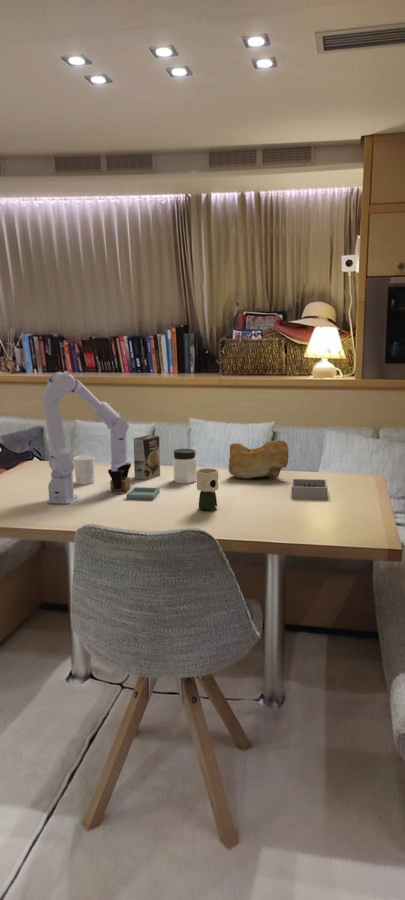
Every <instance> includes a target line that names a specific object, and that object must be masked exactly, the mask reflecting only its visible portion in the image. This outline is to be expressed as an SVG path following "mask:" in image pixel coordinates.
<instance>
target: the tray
mask: <svg viewBox="0 0 405 900" xmlns="http://www.w3.org/2000/svg"><path fill="white" fill-rule="evenodd" d="M160 493H161V491H160V487H147V486H146V487H143V486H142V487H138V486H136V487H135V486H133V487H131V489H130V490H129V491H128V492H127V493H125V494H126V500H133V501H136V500H137V501H139V500H140V501H154V500H155V499H156V498H157V497H158V496H159V494H160Z"/></svg>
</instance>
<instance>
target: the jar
mask: <svg viewBox="0 0 405 900" xmlns="http://www.w3.org/2000/svg"><path fill="white" fill-rule="evenodd" d="M196 459H197V457H196V450H195V449H192V448H178V449H175V450H174V451H173V480H174V482H175V483H176V484H183V483H189V484H192V483H196V482H197V477H196V471H197V460H196ZM195 481H196V482H195ZM191 482H192V483H191Z"/></svg>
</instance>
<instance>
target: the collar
mask: <svg viewBox="0 0 405 900" xmlns="http://www.w3.org/2000/svg"><path fill="white" fill-rule="evenodd" d="M122 478H124V480H122V483H121V489H115V488H114V485H113V481H112V479H110V494H112V493H113V494H127V493H128V492H129V491H130V490H131V489H132V486H131V477H130V476H128V477H122Z"/></svg>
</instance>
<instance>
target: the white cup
mask: <svg viewBox="0 0 405 900" xmlns="http://www.w3.org/2000/svg"><path fill="white" fill-rule="evenodd" d="M73 464H74V475H75V481H76V484H77V485H81V486H82V485H83V486H86V485H92V484H94V483H95V456H94V455H88V454H87V455H85V454H84V455H83V454H82V455H78V456H74V457H73Z"/></svg>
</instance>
